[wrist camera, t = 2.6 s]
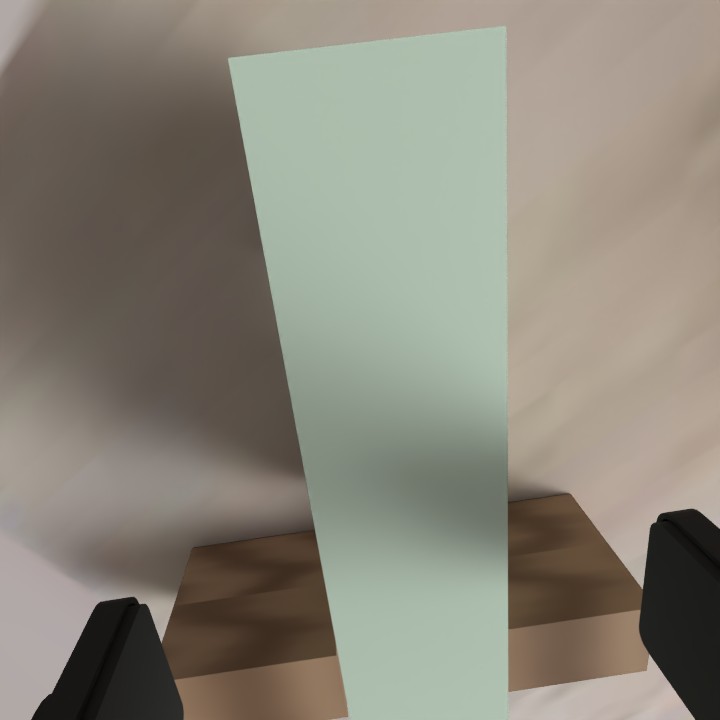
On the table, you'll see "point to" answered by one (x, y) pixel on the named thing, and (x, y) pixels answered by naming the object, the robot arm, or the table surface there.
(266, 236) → the sage slotted plate
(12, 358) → the table surface
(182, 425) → the table surface
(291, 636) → the walnut slotted plate
